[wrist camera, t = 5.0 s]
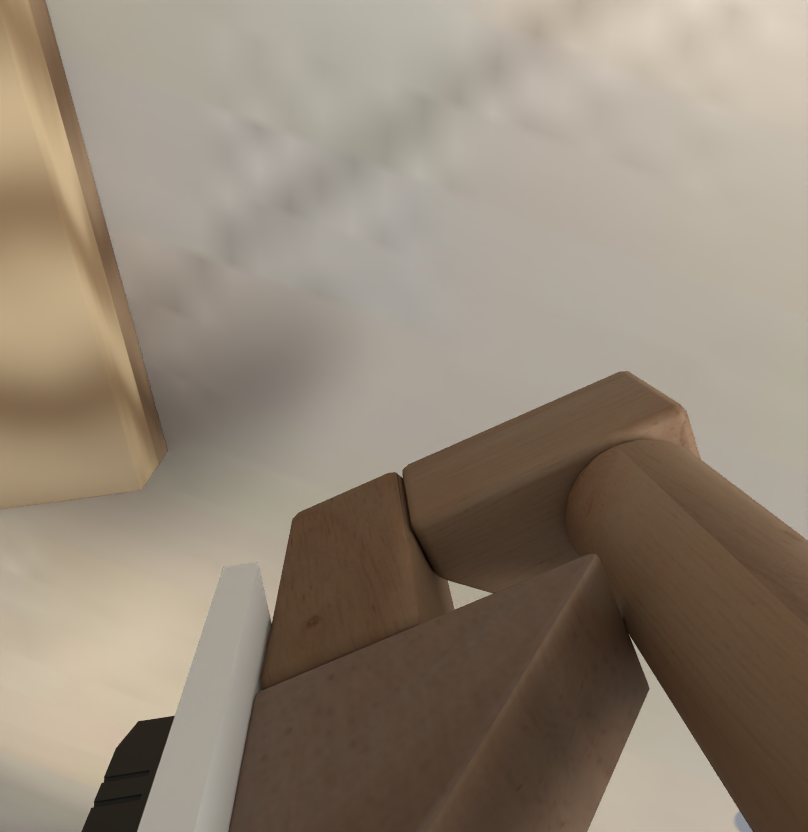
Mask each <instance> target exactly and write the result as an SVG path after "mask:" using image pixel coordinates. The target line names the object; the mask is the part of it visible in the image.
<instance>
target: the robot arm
mask: <svg viewBox="0 0 808 832" xmlns="http://www.w3.org/2000/svg"><path fill="white" fill-rule="evenodd" d="M271 626H272V623H271V619H270V614H269V610H268V605H267V601H266V596H265V592H264V588H263V583H262V579H261V574H260V570H259V565H258V562H256V563H249V564H242V565H235V566H228V567H223V570H222V573H221V576H220V579H219V582H218V585H217V588H216V591H215V595H214V598H213V601H212V604H211V607H210V610H209V613H208V616H207V619H206V622H205V625H204V628H203V631H202V634H201V637H200V641H199V644H198V647H197V650H196V653H195V656H194V659H193V662H192V665H191V668H190V671H189V674H188V677H187V680H186V683H185V686H184V690H183V693H182V696H181V699H180V702H179V705H178V708H177V711H176V714H175V716H170V717H164V718H158V719H151V720H145V721H138V722H137V724H136V725H135V726H134V727H133V729H132V730H131V731H130V732H129V733H128V735H127V736H126V737H125V738H124V739H123V741H122V742H121V743H120V744H119V745H118V747H117V748H116V750H115V752H114V755H113V757H112V759H111V762H110V764H109V767H108V769H107V772H106V774H105V776H104V783H102V784H101V786H100V788H99V791H98V793H97V796H96V798H95V801H94V808H91V810H90V813H89V815H88V817H87V820H86V822H85V825H84V827H83V830H82V832H229V826H230V821H231V816H232V811H233V805H234V800H235V795H236V789H237V784H238V779H239V774H240V768H241V763H242V758H243V753H244V747H245V742H246V737H247V731H248V726H249V721H250V716H251V712H252V707H253V702H254V698H255V696H256V695H257V694H258V693H259V692H260V691H262V685H261V677H262V672H263V667H264V662H265V657H266V651H267V646H268V641H269V636H270V631H271Z"/></svg>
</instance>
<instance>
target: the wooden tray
mask: <svg viewBox="0 0 808 832" xmlns="http://www.w3.org/2000/svg"><path fill="white" fill-rule="evenodd" d="M167 451H168V450H167V447H166V443H165V439H164V436H163V432H162V428H161V425H160V421H159V417H158V414H157V410H156V406H155V403H154V399H153V395H152V391H151V388H150V384H149V380H148V377H147V373H146V369H145V366H144V362H143V358H142V355H141V351H140V347H139V344H138V340H137V336H136V333H135V329H134V325H133V322H132V318H131V314H130V311H129V307H128V303H127V299H126V296H125V292H124V288H123V285H122V281H121V277H120V274H119V270H118V266H117V263H116V259H115V255H114V252H113V248H112V244H111V241H110V237H109V233H108V230H107V226H106V222H105V219H104V215H103V211H102V207H101V204H100V200H99V196H98V193H97V189H96V185H95V182H94V178H93V174H92V171H91V167H90V163H89V160H88V156H87V152H86V149H85V145H84V141H83V138H82V134H81V130H80V127H79V123H78V119H77V115H76V112H75V108H74V104H73V101H72V97H71V93H70V90H69V86H68V82H67V79H66V75H65V71H64V68H63V64H62V60H61V57H60V53H59V49H58V46H57V42H56V38H55V35H54V31H53V27H52V23H51V20H50V16H49V12H48V9H47V5H46V1H45V0H0V509H6V508H13V507H21V506H28V505H36V504H43V503H51V502H58V501H65V500H73V499H80V498H88V497H95V496H103V495H110V494H118V493H125V492H133V491H140V490H142V489H143V487H144V486H145V484H146V483H147V481H148V480H149V478H150V477H151V475H152V474H153V472H154V471H155V469H156V468H157V466H158V465H159V463H160V462H161V460H162V459H163V457H164V456H165V454H166V453H167Z"/></svg>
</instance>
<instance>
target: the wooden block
mask: <svg viewBox="0 0 808 832" xmlns="http://www.w3.org/2000/svg"><path fill="white" fill-rule="evenodd" d="M447 580H449V581H452V582H456V583H459V584H462V585H466V586H469V587H473V588H476V589H480V590H483V591H487V592H490V593H494V594H491V595H489V596H487V597H484V598H482V599H479V600H477V601H475V602H472V603H470V604H467V605H465V606H463V607H460V608H458V609H456V610H454V606H453V601H452V597H451V593H450V589H449V585H448V581H447ZM628 633H629V634H628ZM629 635H630V636H629ZM630 637H631V638H632V640H633V641H634V643H635V645H636V646H637V648H638V649H639V651H640V652H641V654H642V656H643V657H644V659H645V660H646V662H647V664H648V665H649V667H650V668H651V670H652V672H653V673H654V675H655V676H656V678H657V680H658V681H659V683H660V684H661V686H662V688H663V689H664V691H665V692H666V694H667V695H668V697H669V699H670V700H671V702H672V703H673V705H674V707H675V708H676V710H677V711H678V713H679V715H680V716H681V718H682V719H683V721H684V723H685V724H686V726H687V727H688V729H689V731H690V732H691V734H692V735H693V737H694V738H695V740H696V742H697V743H698V745H699V746H700V748H701V750H702V751H703V753H704V754H705V756H706V758H707V759H708V761H709V762H710V764H711V766H712V767H713V769H714V770H715V772H716V774H717V775H718V777H719V778H720V780H721V781H722V783H723V785H724V786H725V788H726V789H727V791H728V793H729V794H730V796H731V797H732V799H733V801H734V802H735V804H736V805H737V807H738V809H739V810H740V812H741V813H742V815H743V817H744V818H745V820H746V821H747V823H748V824H749V826H750V828H751V829H752V831H753V832H808V540H806V539H805V538H804V537H802V536H801V535H800V534H798V533H797V532H796V531H794V530H793V529H792V528H791V527H789V526H788V525H787V524H785V523H784V522H783V521H781V520H780V519H779V518H777V517H776V516H775V515H773V514H772V513H771V512H769V511H768V510H767V509H765V508H764V507H763V506H761V505H760V504H759V503H757V502H756V501H755V500H753V499H752V498H751V497H750V496H748V495H747V494H746V493H744V492H743V491H742V490H740V489H739V488H738V487H736V486H735V485H734V484H732V483H731V482H730V481H728V480H727V479H726V478H724V477H723V476H722V475H720V474H719V473H718V472H716V471H715V470H714V469H712V468H711V467H710V466H709V465H707V464H706V463H705V462H703V461H702V460H701V458H700V455H699V452H698V448H697V445H696V442H695V438H694V435H693V432H692V428H691V425H690V421H689V418H688V415H687V411H686V410H685V409H684V408H683V407H682V406H681V405H680V404H679V403H677V402H676V401H674V400H673V399H671V398H669V397H668V396H666V395H665V394H663V393H661V392H660V391H658V390H657V389H655V388H654V387H652V386H650V385H649V384H647V383H646V382H644V381H643V380H641V379H639V378H638V377H636V376H635V375H633V374H632V373H630V372H628V371H625V372H618V373H616V374H613V375H611V376H609V377H606V378H604V379H602V380H600V381H597V382H595V383H593V384H591V385H588V386H586V387H584V388H581V389H579V390H577V391H575V392H572V393H570V394H568V395H566V396H563V397H561V398H559V399H556V400H554V401H552V402H550V403H547V404H545V405H543V406H541V407H538V408H536V409H534V410H531V411H529V412H527V413H525V414H522V415H520V416H518V417H516V418H513V419H511V420H509V421H506V422H504V423H502V424H500V425H497V426H495V427H493V428H491V429H488V430H486V431H484V432H481V433H479V434H477V435H475V436H472V437H470V438H468V439H466V440H463V441H461V442H459V443H456V444H454V445H452V446H450V447H447V448H445V449H443V450H441V451H438V452H436V453H434V454H431V455H429V456H427V457H425V458H422V459H420V460H418V461H416V462H413V463H411V464H409V465H408V466H406V467H405V468H404V469H403V478H402V477H401V476H399V475H398V474H397V473H396V472H393V473H387V474H385V475H383V476H381V477H378V478H376V479H374V480H371V481H369V482H367V483H365V484H362V485H360V486H358V487H356V488H353V489H351V490H349V491H346V492H344V493H342V494H340V495H337V496H335V497H333V498H331V499H328V500H326V501H324V502H321V503H319V504H317V505H315V506H312V507H310V508H308V509H306V510H303V511H301V512H299V513H298V514H297V515H296V516H295V517H294V518H293V519H292V524H291V529H290V535H289V540H288V545H287V550H286V555H285V560H284V565H283V570H282V575H281V580H280V585H279V590H278V596H277V601H276V606H275V611H274V616H273V621H272V626H271V631H270V636H269V641H268V646H267V651H266V657H265V662H264V667H263V672H262V677H261V685H262V691H260V692H259V693H258V694H257V695H256V696H255V698H254V702H253V707H252V712H251V716H250V721H249V726H248V731H247V737H246V742H245V747H244V753H243V758H242V763H241V768H240V774H239V779H238V784H237V789H236V795H235V800H234V805H233V811H232V816H231V821H230V826H229V832H587V831H588V828H589V826H590V824H591V822H592V819H593V817H594V815H595V812H596V810H597V808H598V805H599V803H600V801H601V799H602V796H603V794H604V792H605V789H606V787H607V785H608V783H609V780H610V778H611V776H612V773H613V771H614V769H615V767H616V764H617V762H618V760H619V757H620V755H621V753H622V750H623V748H624V746H625V744H626V741H627V739H628V737H629V734H630V732H631V730H632V728H633V725H634V723H635V721H636V718H637V716H638V714H639V712H640V709H641V707H642V705H643V702H644V700H645V698H646V695H647V693H648V691H649V686H648V683H647V680H646V678H645V675H644V672H643V670H642V667H641V665H640V662H639V659H638V657H637V654H636V652H635V649H634V646H633V644H632V641H631V639H630Z"/></svg>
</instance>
